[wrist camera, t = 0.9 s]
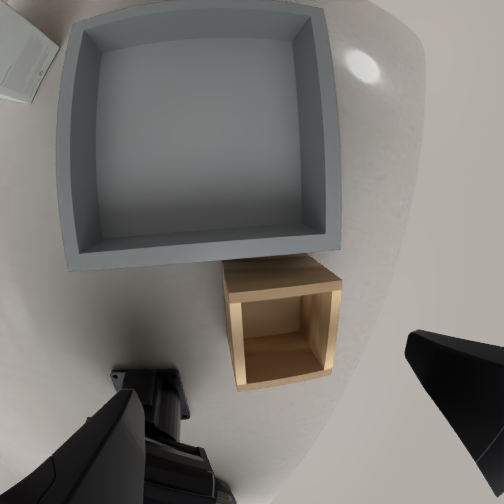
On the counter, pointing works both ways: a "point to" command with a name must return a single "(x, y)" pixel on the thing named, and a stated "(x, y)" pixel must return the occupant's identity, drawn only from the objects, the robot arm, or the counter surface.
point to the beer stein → (224, 494)
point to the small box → (22, 56)
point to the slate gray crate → (198, 135)
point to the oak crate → (280, 319)
